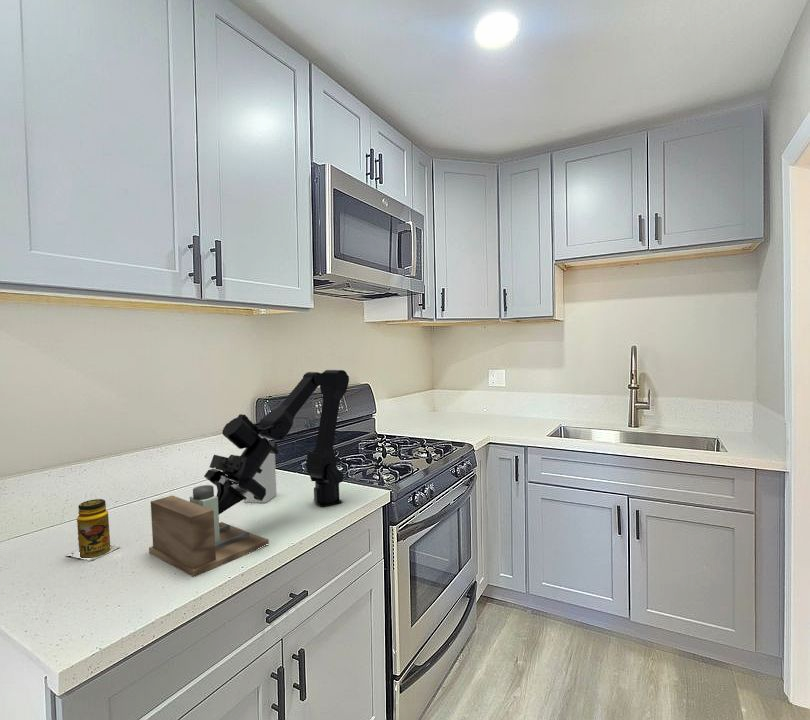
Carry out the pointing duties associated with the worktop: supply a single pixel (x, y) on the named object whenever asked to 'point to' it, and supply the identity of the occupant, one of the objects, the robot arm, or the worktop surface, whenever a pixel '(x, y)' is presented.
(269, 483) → the milk carton
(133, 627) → the worktop surface
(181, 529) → the knob mount
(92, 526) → the condiment
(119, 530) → the worktop surface
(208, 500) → the pale green capped bottle
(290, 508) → the worktop surface
